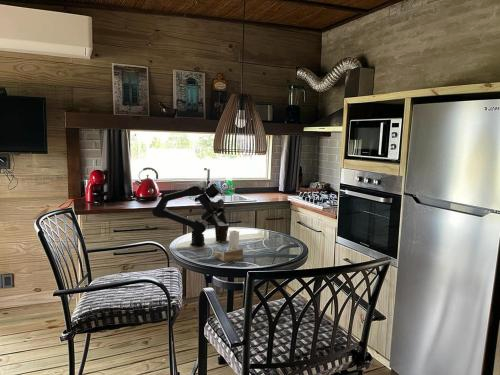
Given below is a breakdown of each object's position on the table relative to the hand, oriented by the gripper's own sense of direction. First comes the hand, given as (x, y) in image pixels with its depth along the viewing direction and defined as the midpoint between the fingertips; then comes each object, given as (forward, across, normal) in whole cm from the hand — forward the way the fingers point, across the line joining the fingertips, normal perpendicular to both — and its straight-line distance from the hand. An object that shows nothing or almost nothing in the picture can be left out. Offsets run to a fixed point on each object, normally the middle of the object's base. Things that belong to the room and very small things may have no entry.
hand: (222, 225), depth 216 cm
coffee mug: (+3, +14, +16) cm, 22 cm away
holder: (+17, -12, +2) cm, 21 cm away
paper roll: (+15, 0, +4) cm, 15 cm away
